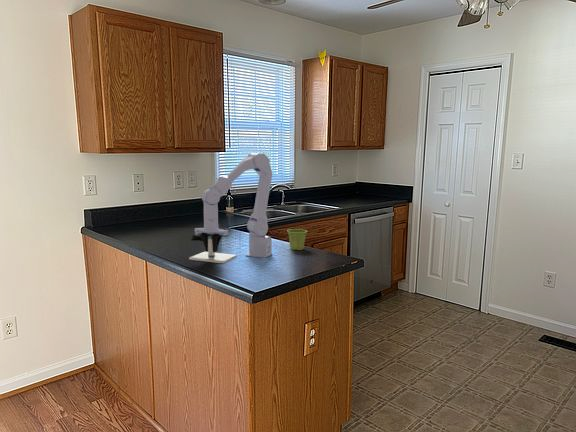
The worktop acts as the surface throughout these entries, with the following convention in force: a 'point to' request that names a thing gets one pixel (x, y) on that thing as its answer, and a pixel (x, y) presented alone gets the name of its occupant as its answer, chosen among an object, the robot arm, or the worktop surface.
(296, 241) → the plant pot
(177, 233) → the worktop surface
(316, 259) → the worktop surface
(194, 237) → the door handle
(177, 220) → the worktop surface
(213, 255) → the marker
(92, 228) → the worktop surface
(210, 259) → the notepad
